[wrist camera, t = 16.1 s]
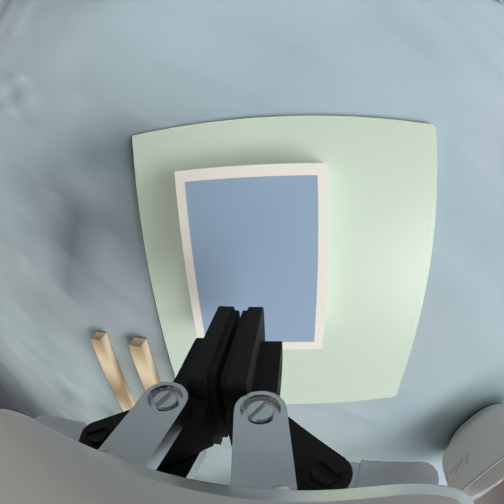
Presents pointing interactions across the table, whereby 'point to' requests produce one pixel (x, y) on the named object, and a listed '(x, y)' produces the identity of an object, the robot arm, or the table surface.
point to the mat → (340, 238)
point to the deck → (258, 245)
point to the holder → (112, 368)
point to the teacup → (477, 452)
